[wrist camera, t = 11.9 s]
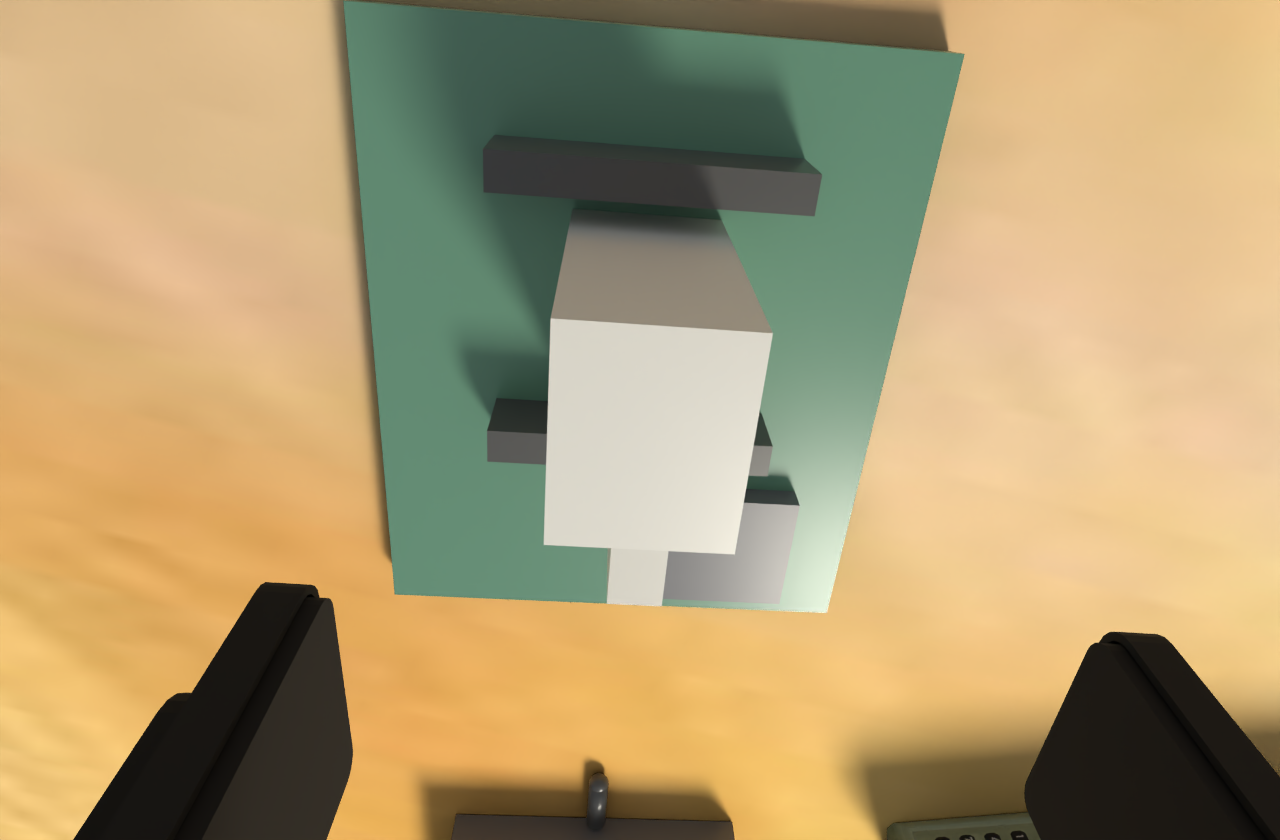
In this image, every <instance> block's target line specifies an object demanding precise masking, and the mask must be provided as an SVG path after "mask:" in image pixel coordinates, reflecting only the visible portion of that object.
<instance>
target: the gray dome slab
mask: <svg viewBox="0 0 1280 840" xmlns="http://www.w3.org/2000/svg"><path fill="white" fill-rule="evenodd" d="M607 795H608V779H607V777H606V776H605V775H604V774H602V773H596V774H594V775H593V776H592V777H591V778H590V781H589V792H588V806H587V818H572V817H535V816H498V815H460V814H456V818H455V823H454V828H453V833H452V838H451V840H735V839H734V832H733V825H732V822H722V821H685V820H647V819H610V818H605V817H606V806H607Z"/></svg>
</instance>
